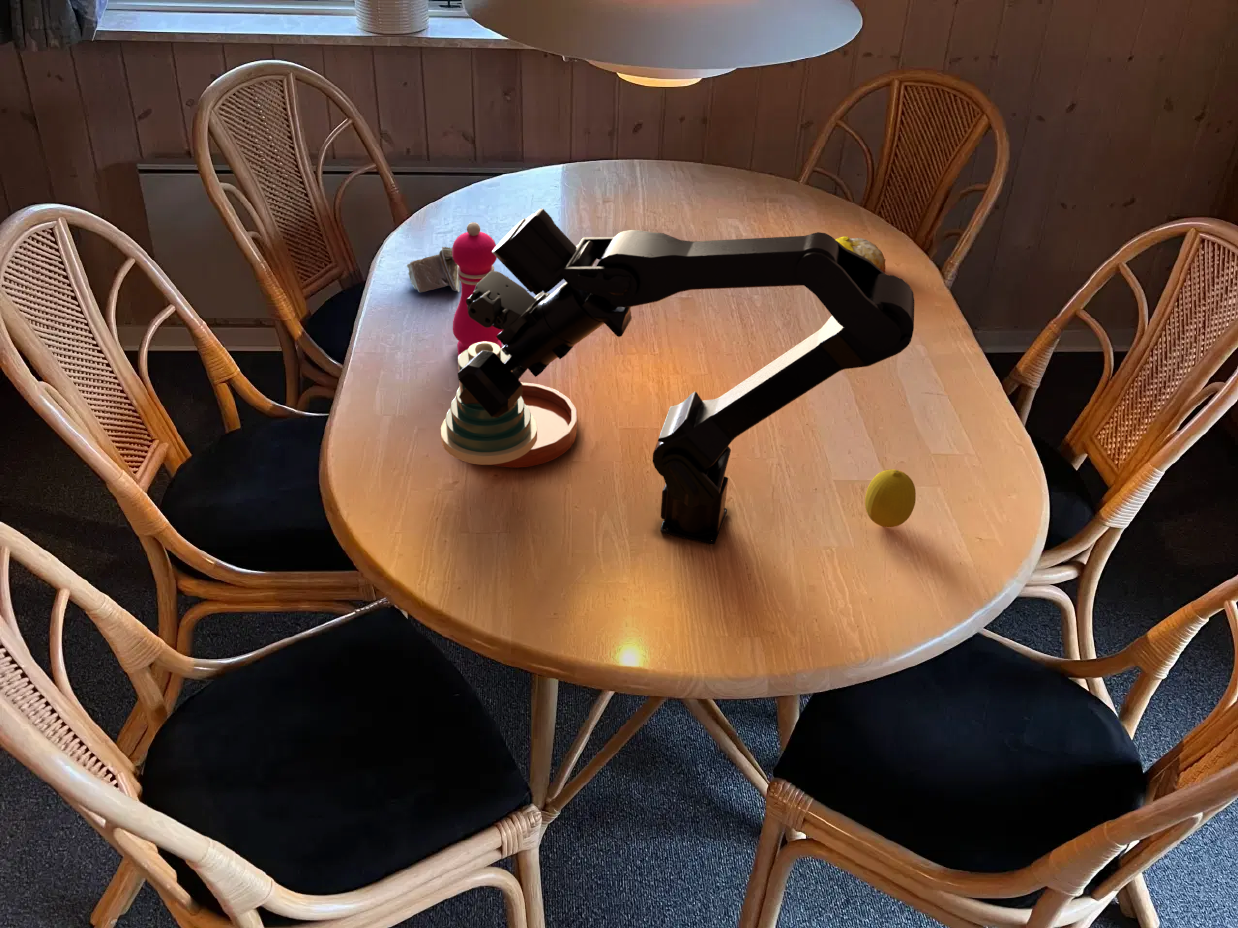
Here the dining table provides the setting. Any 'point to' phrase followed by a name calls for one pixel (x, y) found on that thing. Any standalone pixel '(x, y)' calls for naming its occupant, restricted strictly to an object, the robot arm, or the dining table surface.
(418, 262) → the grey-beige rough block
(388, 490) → the dining table surface
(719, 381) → the dining table surface
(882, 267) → the fruit
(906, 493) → the lemon
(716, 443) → the robot arm
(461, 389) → the tagine lid
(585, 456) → the dining table surface
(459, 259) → the pepper mill
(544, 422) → the tagine base
